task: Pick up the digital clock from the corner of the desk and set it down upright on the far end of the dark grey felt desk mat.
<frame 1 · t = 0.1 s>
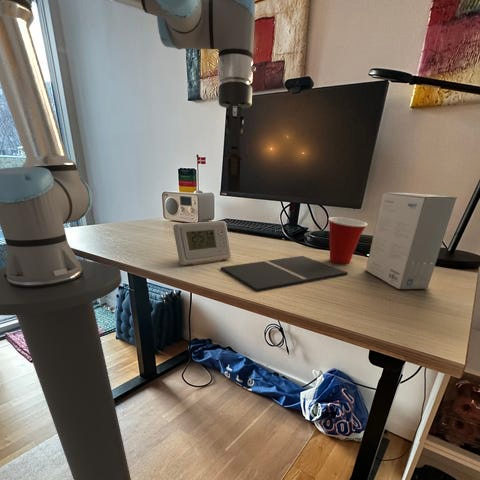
hand: (233, 189, 76), 19 cm above the table, tool pointing down, fingers open, 13 cm apart
plastic cup: (340, 261, 90), on the table
desk mat: (283, 271, 79), on the table
digital clock: (204, 261, 86), on the table
hard drive box: (393, 279, 76), on the table
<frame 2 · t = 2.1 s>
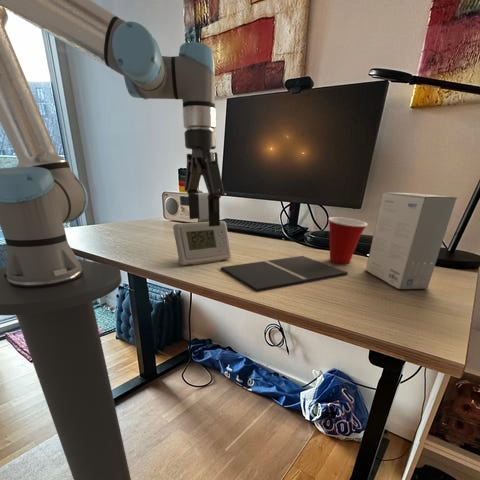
hand: (203, 222, 81), 11 cm above the table, tool pointing down, fingers open, 13 cm apart
nothing on the table moved.
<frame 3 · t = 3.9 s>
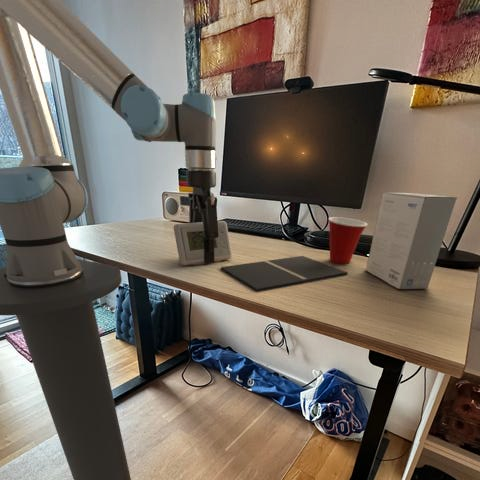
hand: (203, 258, 86), 1 cm above the table, tool pointing down, fingers closed on digital clock, 7 cm apart
digital clock: (204, 262, 86), on the table, touching gripper
everything else where it was.
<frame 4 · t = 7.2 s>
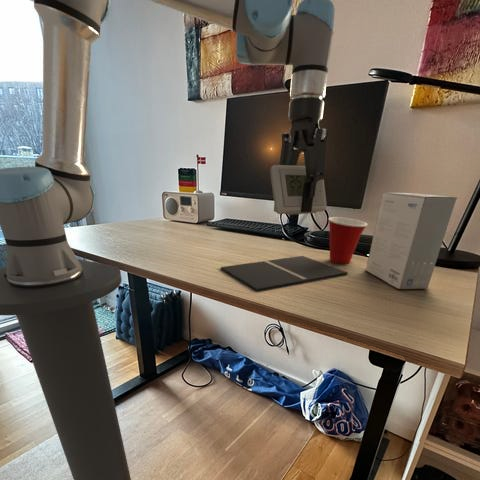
hand: (296, 209, 76), 15 cm above the table, tool pointing down, fingers closed on digital clock, 7 cm apart
digital clock: (297, 213, 76), point 14 cm above the table, touching gripper
everything else where it was.
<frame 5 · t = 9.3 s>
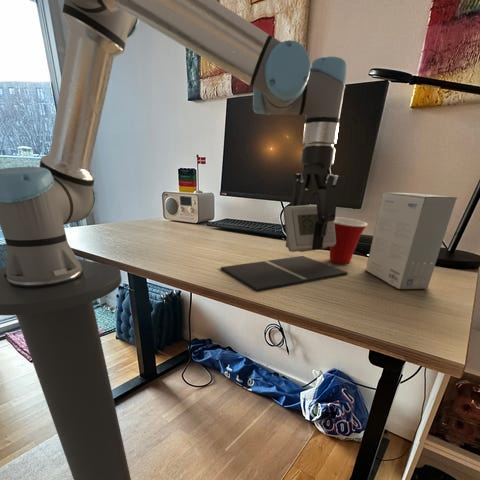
hand: (306, 245, 79), 6 cm above the table, tool pointing down, fingers closed on digital clock, 7 cm apart
digital clock: (308, 249, 79), point 5 cm above the table, touching gripper
everything else where it was.
when the fingers open (1 cm above the table, at t = 10.9 s): digital clock stays where it is, resting on desk mat.
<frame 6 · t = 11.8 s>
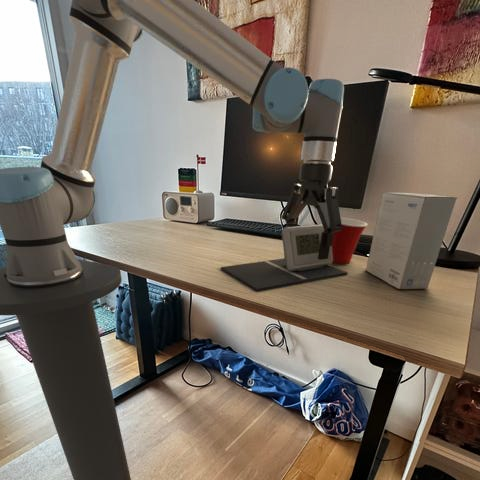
hand: (305, 252, 80), 4 cm above the table, tool pointing down, fingers open, 13 cm apart
digital clock: (305, 267, 81), resting on desk mat
everything else where it was.
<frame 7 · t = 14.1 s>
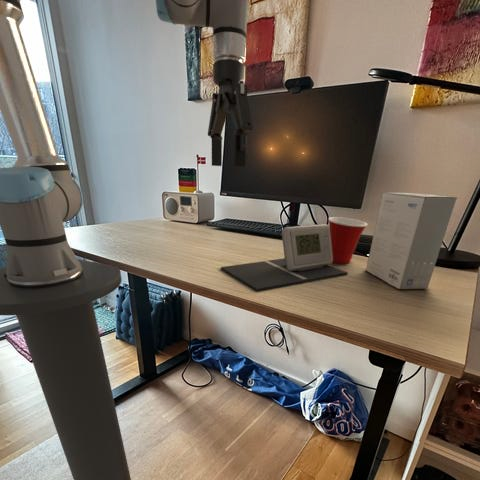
hand: (227, 166, 79), 25 cm above the table, tool pointing down, fingers open, 13 cm apart
nothing on the table moved.
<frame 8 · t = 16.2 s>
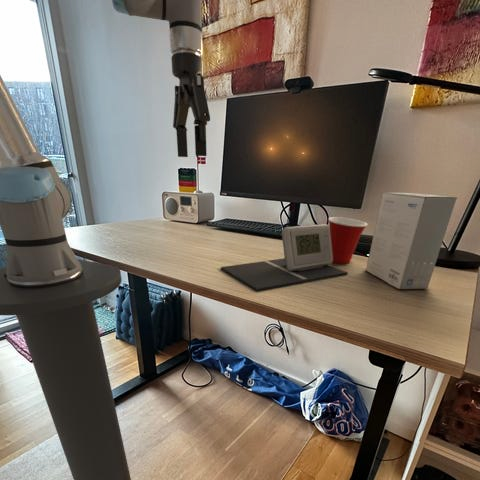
hand: (191, 156, 82), 27 cm above the table, tool pointing down, fingers open, 13 cm apart
nothing on the table moved.
at the end: digital clock inside the target area (0.7 cm from its centre), point 0.5 cm above the table; digital clock tilted 1°; the gripper is holding nothing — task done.
